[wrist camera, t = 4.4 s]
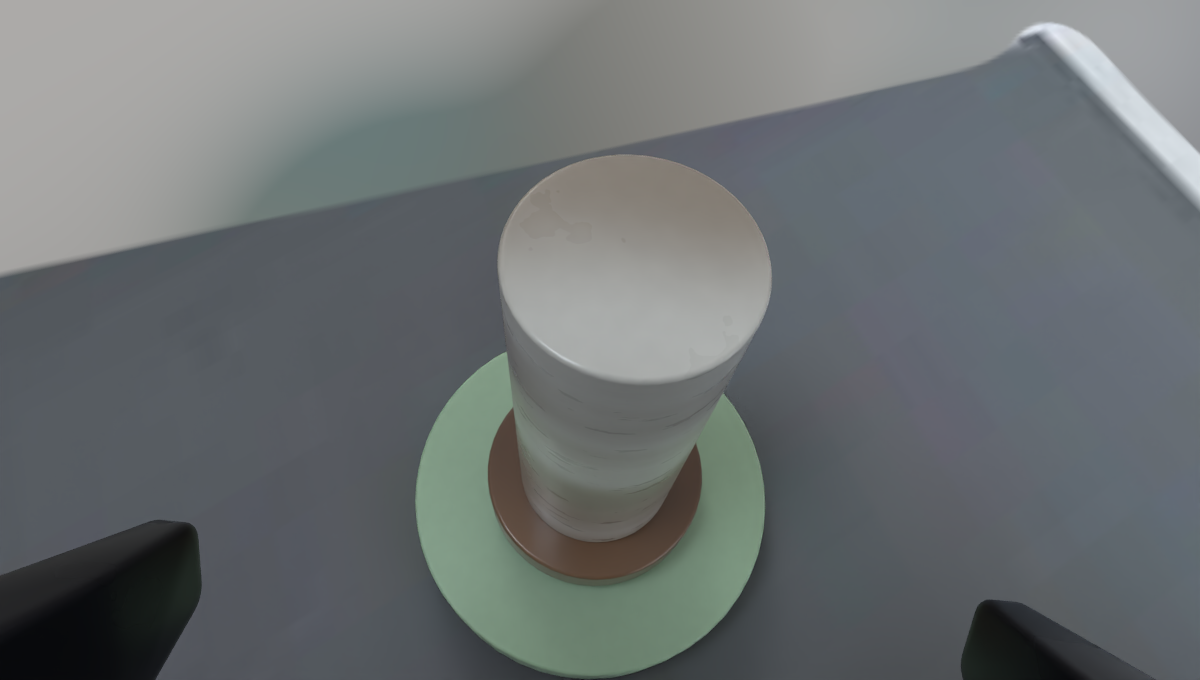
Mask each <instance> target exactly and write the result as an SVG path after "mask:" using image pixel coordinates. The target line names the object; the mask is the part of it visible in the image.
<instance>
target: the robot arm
mask: <svg viewBox="0 0 1200 680" xmlns="http://www.w3.org/2000/svg"><path fill="white" fill-rule="evenodd" d="M201 586H202V582H201V568H200V555H199V541H198V534H197V531H196V529H195V527H194V526H193V525H191V524H190V523H186V522H176V521H165V520H153V521H150V522H147V523H144V524H142V525H139V526H136V527H133V528H131V529H128V530H125V531H122V532H120V533H117V534H114V535H111V536H109V537H106V538H103V539H100V540H98V541H95V542H92V543H89V544H87V545H84V546H81V547H78V548H76V549H73V550H70V551H67V552H65V553H62V554H59V555H56V556H54V557H51V558H48V559H45V560H42V561H40V562H37V563H34V564H31V565H29V566H26V567H23V568H20V569H18V570H15V571H12V572H9V573H7V574H4V575H1V576H0V680H155V679H156V677H157V676H158V674H159V672H160V670H161V669H162V667H163V665H164V663H165V662H166V660H167V658H168V656H169V655H170V653H171V651H172V649H173V648H174V646H175V644H176V642H177V641H178V639H179V637H180V635H181V633H182V632H183V630H184V628H185V626H186V625H187V623H188V621H189V619H190V618H191V616H192V614H193V612H194V611H195V609H196V607H197V604H198V601H199V598H200V594H201ZM961 672H962V677H963V680H1156V679H1154V678H1152V677H1150V676H1149V675H1147V674H1145V673H1143V672H1142V671H1140V670H1138V669H1136V668H1135V667H1133V666H1131V665H1129V664H1128V663H1126V662H1124V661H1122V660H1121V659H1119V658H1117V657H1115V656H1114V655H1112V654H1110V653H1108V652H1107V651H1105V650H1103V649H1101V648H1100V647H1098V646H1096V645H1094V644H1093V643H1091V642H1089V641H1087V640H1086V639H1084V638H1082V637H1080V636H1079V635H1077V634H1075V633H1073V632H1072V631H1070V630H1068V629H1066V628H1065V627H1063V626H1061V625H1059V624H1058V623H1056V622H1054V621H1052V620H1051V619H1049V618H1047V617H1045V616H1044V615H1042V614H1040V613H1038V612H1037V611H1035V610H1033V609H1031V608H1029V607H1028V606H1026V605H1024V604H1022V603H1018V602H1011V601H1000V600H985V601H983V602H981V603H980V604H979V605H978V607H977V609H976V611H975V614H974V618H973V621H972V624H971V627H970V631H969V634H968V637H967V641H966V644H965V647H964V651H963V654H962V659H961Z"/></svg>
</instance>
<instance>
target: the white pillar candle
mask: <svg viewBox="0 0 1200 680" xmlns="http://www.w3.org/2000/svg"><path fill="white" fill-rule="evenodd" d="M497 272H498V280H499V289H500V297H501V306H502V314H503V323H504V332H505V340H506V349H507V357H508V366H509V375H510V383H511V392H512V400H513V407H512V409H511V410H510V411H509V412H508V414H507V415H506V416H505V418H504V420H503V421H502V423H501V425H500V426H499V428H498V430H497V433H496V435H495V437H494V439H493V443H492V446H491V450H490V454H489V461H488V487H489V494H490V498H491V502H492V505H493V509H494V513H495V516H496V519H497V521H498V523H499V526H500V528H501V530H502V532H503V533H504V535H505V537H506V538H507V540H508V542H509V543H510V544H511V545H512V547H513V548H514V549H515V550H516V552H517V553H518V554H519V555H521V556H522V557H523V558H524V559H525V560H526V561H527V562H528V563H530V564H531V565H532V566H534V567H535V568H536V569H538V570H539V571H541V572H543V573H545V574H547V575H549V576H551V577H553V578H556V579H559V580H561V581H564V582H568V583H573V584H577V585H586V586H603V585H612V584H617V583H622V582H625V581H627V580H630V579H633V578H636V577H638V576H640V575H642V574H644V573H646V572H648V571H649V570H651V569H652V568H653V567H655V566H656V565H658V564H659V563H660V562H661V561H662V560H663V559H665V558H666V557H667V556H668V555H669V554H670V553H671V551H672V550H673V549H674V548H675V546H676V545H677V544H678V543H679V541H680V540H681V539H682V537H683V536H684V535H685V533H686V531H687V530H688V528H689V526H690V525H691V523H692V520H693V518H694V516H695V513H696V511H697V508H698V504H699V500H700V496H701V488H702V467H701V459H700V455H699V451H698V447H697V444H696V442H697V440H698V438H699V436H700V434H701V432H702V431H703V429H704V427H705V425H706V423H707V421H708V420H709V418H710V416H711V414H712V412H713V410H714V409H715V407H716V405H717V403H718V401H719V399H720V398H721V396H722V394H723V392H724V390H725V388H726V387H727V385H728V383H729V381H730V379H731V377H732V376H733V374H734V372H735V370H736V368H737V366H738V365H739V363H740V361H741V359H742V357H743V355H744V354H745V352H746V350H747V348H748V346H749V344H750V343H751V341H752V339H753V337H754V335H755V333H756V332H757V330H758V328H759V326H760V324H761V322H762V320H763V317H764V315H765V313H766V311H767V307H768V303H769V300H770V296H771V286H772V271H771V262H770V258H769V253H768V249H767V246H766V243H765V240H764V238H763V235H762V233H761V231H760V229H759V228H758V226H757V224H756V222H755V220H754V219H753V218H752V216H751V215H750V213H749V212H748V211H747V209H746V208H745V207H744V206H743V205H742V204H741V203H740V202H739V200H738V199H737V198H736V197H735V196H734V195H732V194H731V193H730V192H729V191H728V190H727V189H725V188H724V187H723V186H721V185H720V184H719V183H717V182H716V181H714V180H713V179H711V178H710V177H708V176H706V175H704V174H702V173H700V172H698V171H697V170H694V169H692V168H689V167H687V166H685V165H682V164H679V163H676V162H673V161H669V160H666V159H661V158H656V157H651V156H642V155H610V156H601V157H596V158H591V159H586V160H583V161H580V162H577V163H574V164H571V165H569V166H566V167H564V168H562V169H560V170H558V171H556V172H554V173H552V174H551V175H549V176H547V177H546V178H544V179H543V180H541V181H540V182H539V183H538V184H536V185H535V186H534V187H533V188H531V190H530V191H529V192H528V193H527V194H526V195H525V196H524V197H523V198H522V199H521V200H520V202H519V203H518V204H517V206H516V207H515V209H514V210H513V211H512V213H511V215H510V217H509V219H508V221H507V223H506V225H505V226H504V229H503V232H502V236H501V239H500V243H499V249H498V255H497Z"/></svg>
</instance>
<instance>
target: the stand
mask: <svg viewBox="0 0 1200 680" xmlns="http://www.w3.org/2000/svg"><path fill="white" fill-rule="evenodd" d="M512 407H513V400H512V392H511V383H510V375H509V366H508V357H507V351H506V352H504V353H502V354H501V355H499V356H497V357H495V358H494V359H492V360H491V361H490V362H488V363H487V364H485V365H484V366H483V367H481V368H480V369H478V370H477V371H476V372H475V373H474V374H473V375H472V376H471V377H470V378H469V379H467V380H466V381H465V382H464V383H463V384H462V385H461V387H460V388H459V389H458V390H457V391H456V392H455V394H454V395H453V396H452V397H451V398H450V399H449V401H448V402H447V404H446V405H445V407H444V408H443V410H442V411H441V413H440V415H439V416H438V418H437V420H436V422H435V424H434V426H433V428H432V430H431V432H430V434H429V436H428V438H427V441H426V444H425V447H424V450H423V453H422V456H421V460H420V465H419V470H418V475H417V481H416V498H415V507H416V520H417V529H418V533H419V538H420V543H421V547H422V551H423V554H424V556H425V559H426V562H427V564H428V567H429V570H430V573H431V574H432V576H433V578H434V580H435V582H436V584H437V586H438V587H439V589H440V591H441V593H442V595H443V596H444V597H445V599H446V600H447V601H448V603H449V604H450V606H451V607H452V608H453V610H454V611H455V612H456V614H457V615H458V616H459V617H460V618H461V619H462V620H463V621H464V622H465V623H466V624H467V625H468V626H469V627H470V628H471V629H472V630H473V631H474V632H475V633H476V634H477V635H478V636H479V637H480V638H481V639H482V640H483V641H485V642H486V643H487V644H489V645H490V646H491V647H493V648H494V649H495V650H497V651H498V652H499V653H501V654H503V655H505V656H507V657H508V658H510V659H512V660H514V661H516V662H517V663H519V664H522V665H524V666H527V667H530V668H532V669H535V670H537V671H540V672H543V673H548V674H552V675H557V676H561V677H567V678H580V679H599V678H613V677H617V676H622V675H626V674H631V673H636V672H638V671H641V670H644V669H646V668H649V667H652V666H654V665H657V664H659V663H662V662H664V661H666V660H668V659H670V658H672V657H673V656H675V655H677V654H679V653H681V652H682V651H684V650H686V649H688V648H689V647H691V646H692V645H693V644H694V643H696V642H697V641H698V640H700V639H701V638H702V637H704V636H705V635H706V634H708V633H709V632H710V631H711V630H712V629H713V628H714V627H715V626H716V625H717V623H718V622H719V621H720V620H721V619H722V618H723V617H724V616H725V615H726V614H727V612H728V611H729V610H730V608H731V607H732V606H733V604H734V603H735V602H736V600H737V599H738V597H739V596H740V594H741V592H742V590H743V588H744V587H745V585H746V583H747V581H748V579H749V577H750V575H751V573H752V570H753V567H754V564H755V562H756V559H757V556H758V554H759V549H760V544H761V540H762V535H763V530H764V518H765V493H764V483H763V477H762V472H761V466H760V462H759V459H758V456H757V453H756V450H755V447H754V444H753V441H752V439H751V437H750V435H749V433H748V430H747V428H746V426H745V424H744V422H743V421H742V419H741V418H740V416H739V414H738V413H737V411H736V409H735V408H734V406H733V405H732V404H731V402H730V401H729V400H728V399H727V397H726V396H725V395H724V394H722V396H721V398H720V399H719V401H718V403H717V405H716V407H715V409H714V410H713V412H712V414H711V416H710V418H709V420H708V421H707V423H706V425H705V427H704V429H703V431H702V432H701V434H700V436H699V438H698V440H697V442H696V444H697V447H698V451H699V455H700V459H701V467H702V488H701V496H700V500H699V504H698V508H697V511H696V513H695V516H694V518H693V520H692V523H691V525H690V526H689V528H688V530H687V531H686V533H685V535H684V536H683V537H682V539H681V540H680V541H679V543H678V544H677V545H676V546H675V548H674V549H673V550H672V551H671V553H670V554H669V555H668V556H667V557H666V558H665V559H663V560H662V561H661V562H660V563H659V564H658V565H656V566H655V567H653V568H652V569H651V570H649V571H648V572H646V573H644V574H642V575H640V576H638V577H636V578H633V579H630V580H627V581H625V582H622V583H617V584H612V585H603V586H586V585H577V584H573V583H568V582H564V581H561V580H559V579H556V578H553V577H551V576H549V575H547V574H545V573H543V572H541V571H539V570H538V569H536V568H535V567H534V566H532V565H531V564H530V563H528V562H527V561H526V560H525V559H524V558H523V557H522V556H521V555H519V554H518V553H517V552H516V550H515V549H514V548H513V547H512V545H511V544H510V543H509V542H508V540H507V538H506V537H505V535H504V533H503V532H502V530H501V528H500V526H499V523H498V521H497V519H496V516H495V513H494V509H493V505H492V502H491V498H490V494H489V487H488V461H489V454H490V450H491V446H492V443H493V439H494V437H495V435H496V433H497V430H498V428H499V426H500V425H501V423H502V421H503V420H504V418H505V416H506V415H507V414H508V412H509V411H510V410H511V409H512Z"/></svg>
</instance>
